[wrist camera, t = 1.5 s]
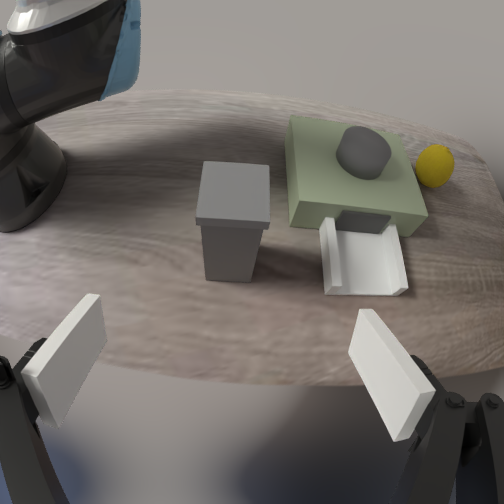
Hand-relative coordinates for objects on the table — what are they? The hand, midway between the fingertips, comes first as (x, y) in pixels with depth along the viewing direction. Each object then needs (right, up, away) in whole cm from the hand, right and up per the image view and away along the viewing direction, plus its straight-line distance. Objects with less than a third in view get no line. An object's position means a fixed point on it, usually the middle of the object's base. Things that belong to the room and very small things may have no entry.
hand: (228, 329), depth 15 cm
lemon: (+27, +14, +27) cm, 41 cm away
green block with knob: (+13, +9, +22) cm, 28 cm away
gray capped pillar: (-1, +3, +18) cm, 18 cm away
